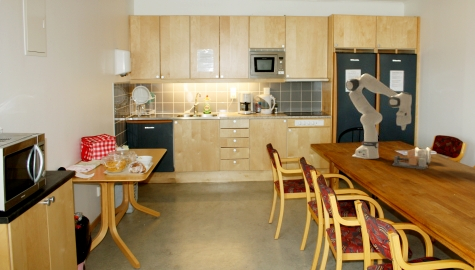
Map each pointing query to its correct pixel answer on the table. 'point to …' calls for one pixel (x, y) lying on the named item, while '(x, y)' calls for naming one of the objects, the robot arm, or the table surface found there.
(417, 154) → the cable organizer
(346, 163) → the table surface
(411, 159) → the orange piece
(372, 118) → the robot arm
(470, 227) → the table surface
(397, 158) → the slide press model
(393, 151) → the table surface
